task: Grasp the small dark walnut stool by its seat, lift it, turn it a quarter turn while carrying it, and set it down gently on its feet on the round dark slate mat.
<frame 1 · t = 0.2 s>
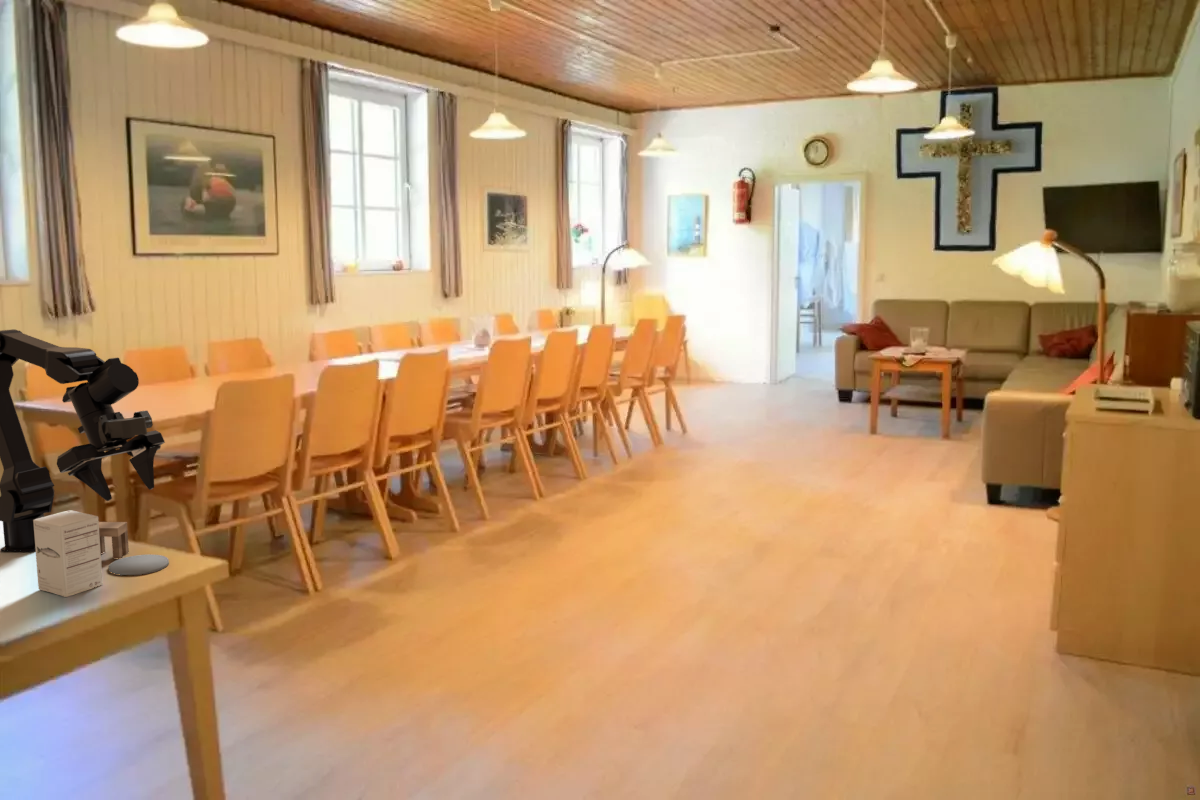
hand: (131, 494, 178), 14 cm above the table, tool tilted 30°, fingers open, 9 cm apart
supplement box: (71, 588, 172), on the table
slate mat: (139, 566, 183), on the table
walnut stool: (109, 555, 189), on the table
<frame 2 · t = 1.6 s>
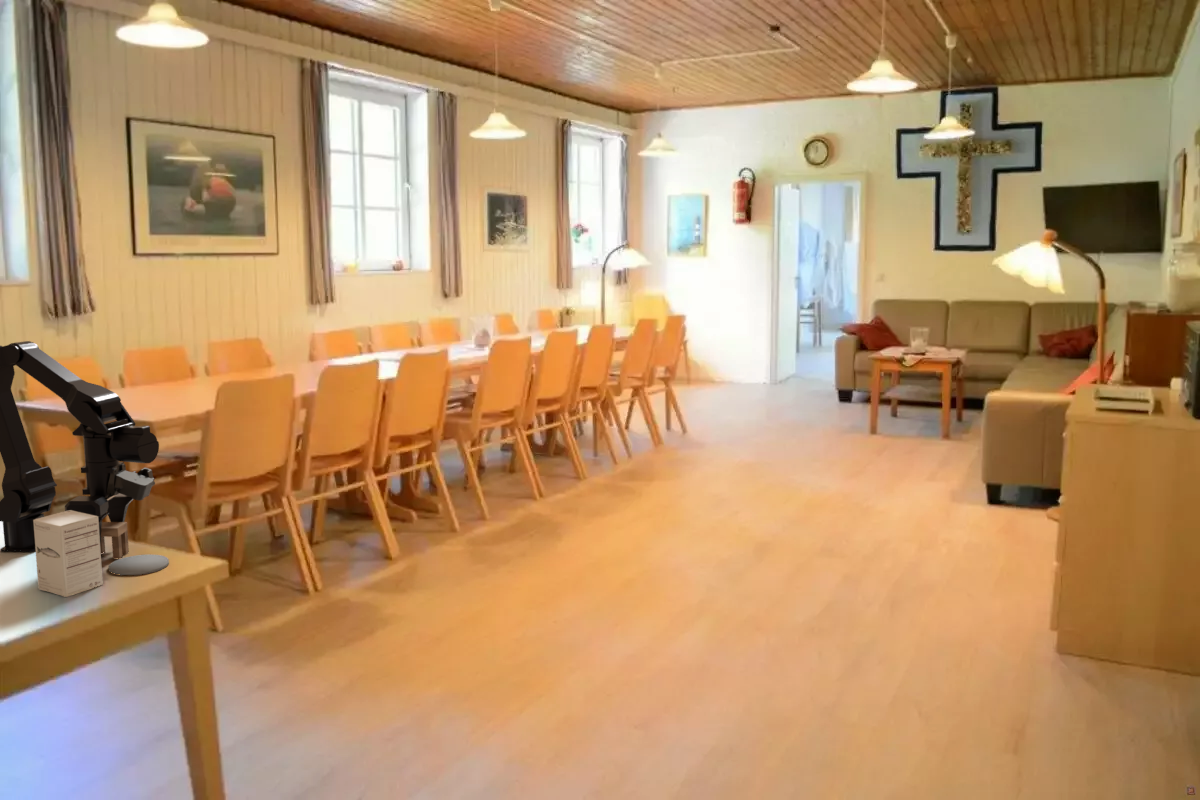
hand: (107, 540, 189), 3 cm above the table, tool pointing down, fingers open, 9 cm apart
nothing on the table moved.
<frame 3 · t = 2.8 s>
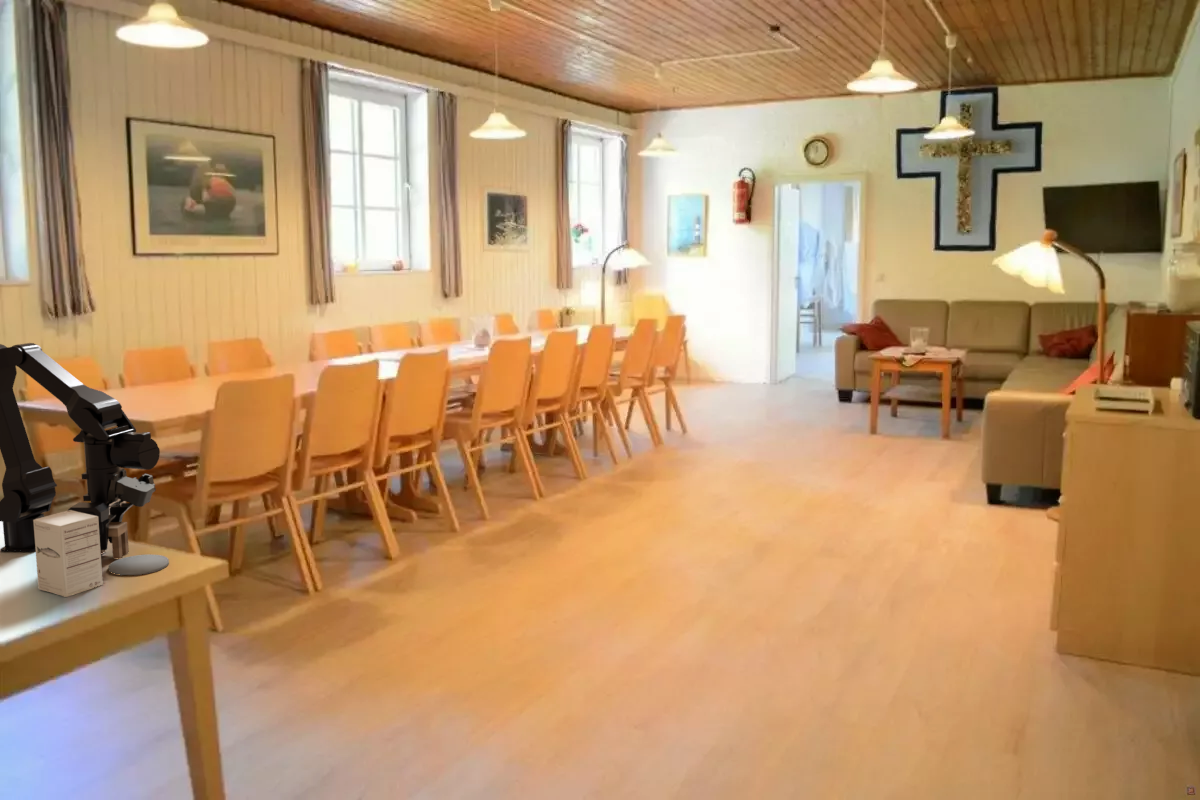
hand: (108, 546, 189), 2 cm above the table, tool pointing down, fingers closed on walnut stool, 4 cm apart
walnut stool: (109, 555, 189), on the table, touching gripper
everything else where it was.
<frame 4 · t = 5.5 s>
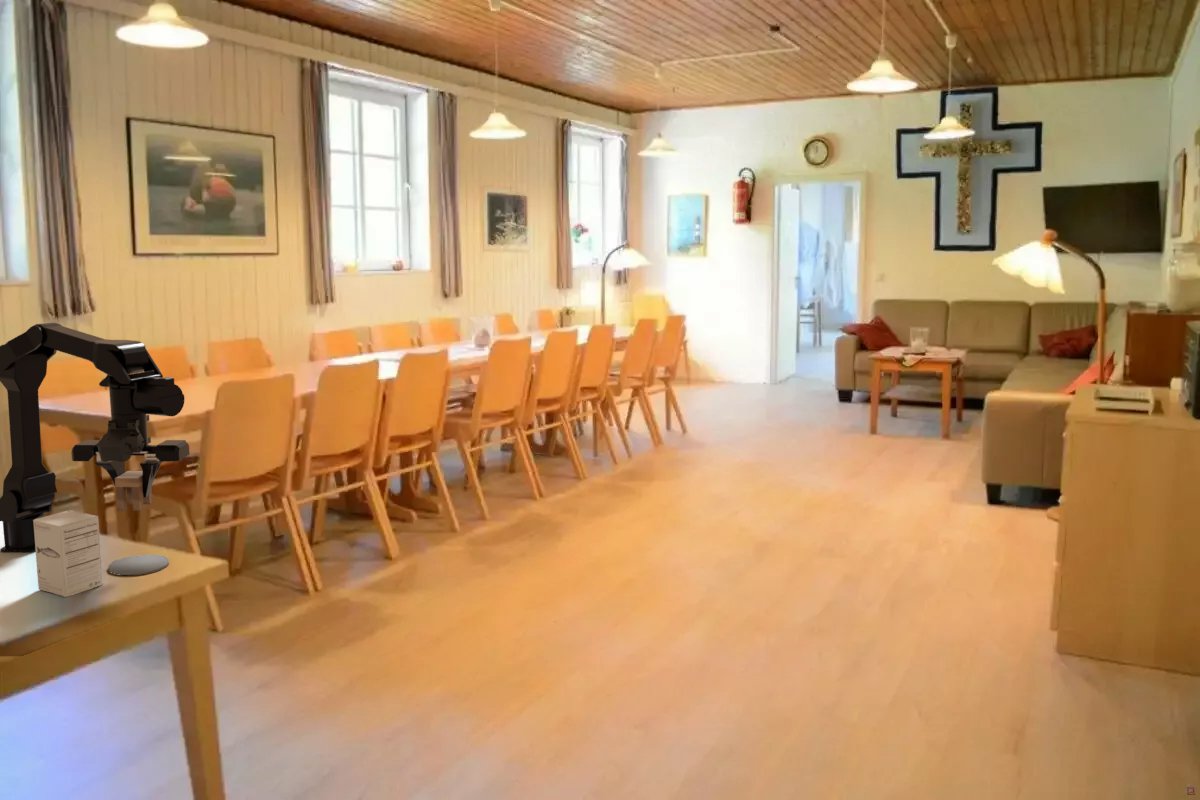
hand: (134, 497, 181), 13 cm above the table, tool pointing down, fingers closed on walnut stool, 4 cm apart
walnut stool: (135, 506, 182), point 11 cm above the table, touching gripper
everything else where it was.
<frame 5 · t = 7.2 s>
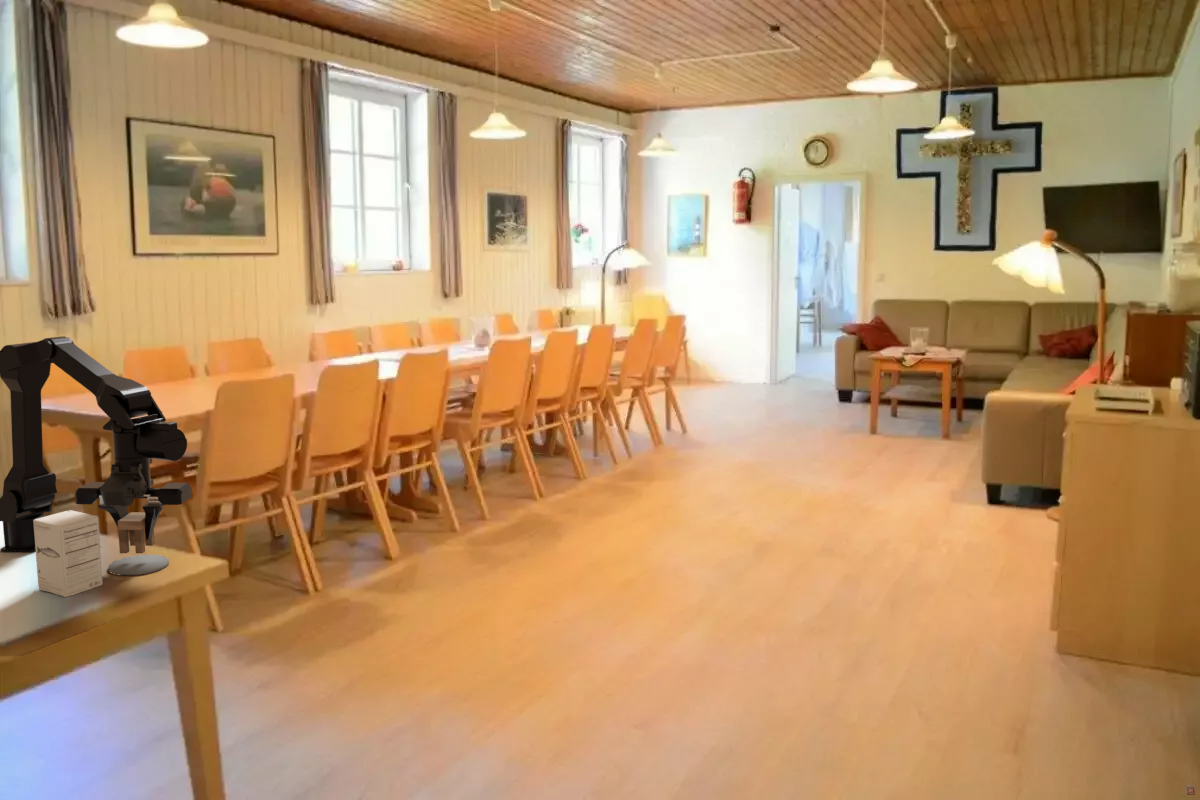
hand: (137, 538, 183), 5 cm above the table, tool pointing down, fingers closed on walnut stool, 4 cm apart
walnut stool: (137, 548, 183), point 3 cm above the table, touching gripper
everything else where it was.
when the fingers open (4 cm above the table, at t = 8.4 s): walnut stool drops 1 cm, resting on slate mat.
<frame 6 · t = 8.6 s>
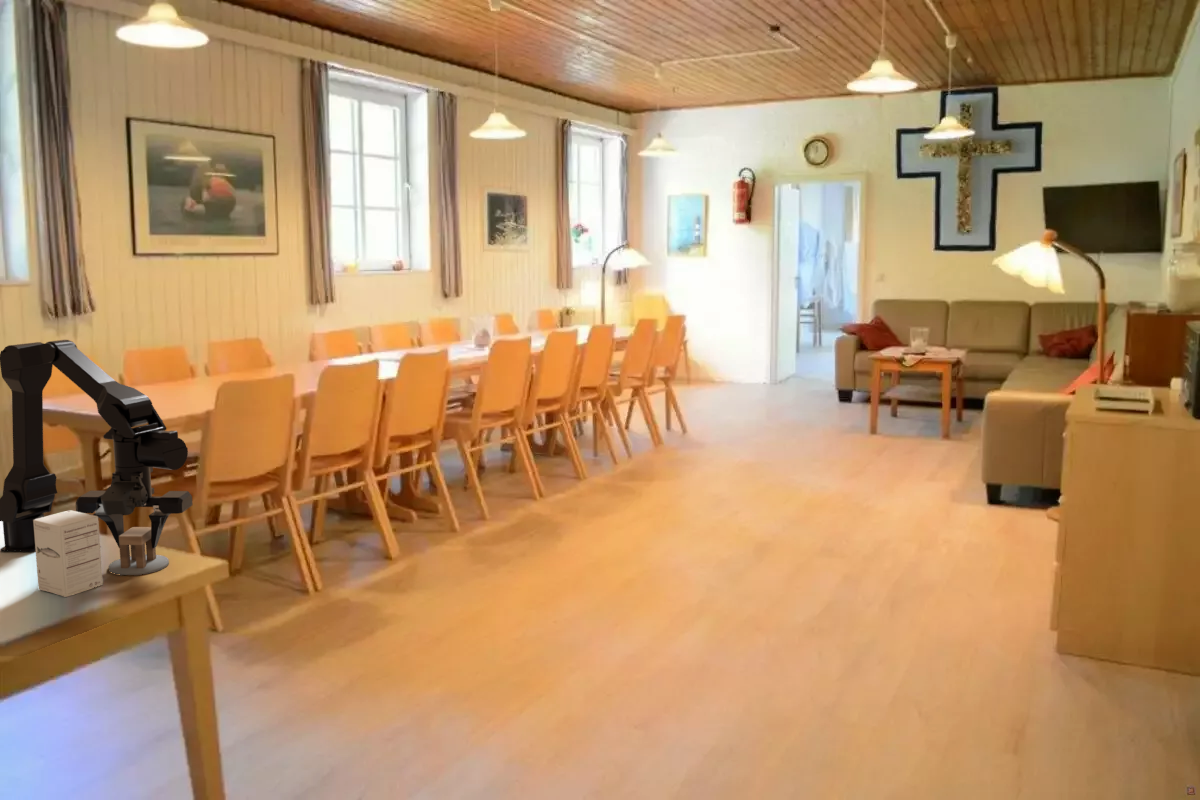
hand: (137, 547, 183), 4 cm above the table, tool pointing down, fingers open, 6 cm apart
walnut stool: (138, 563, 183), point 1 cm above the table, touching slate mat
everything else where it was.
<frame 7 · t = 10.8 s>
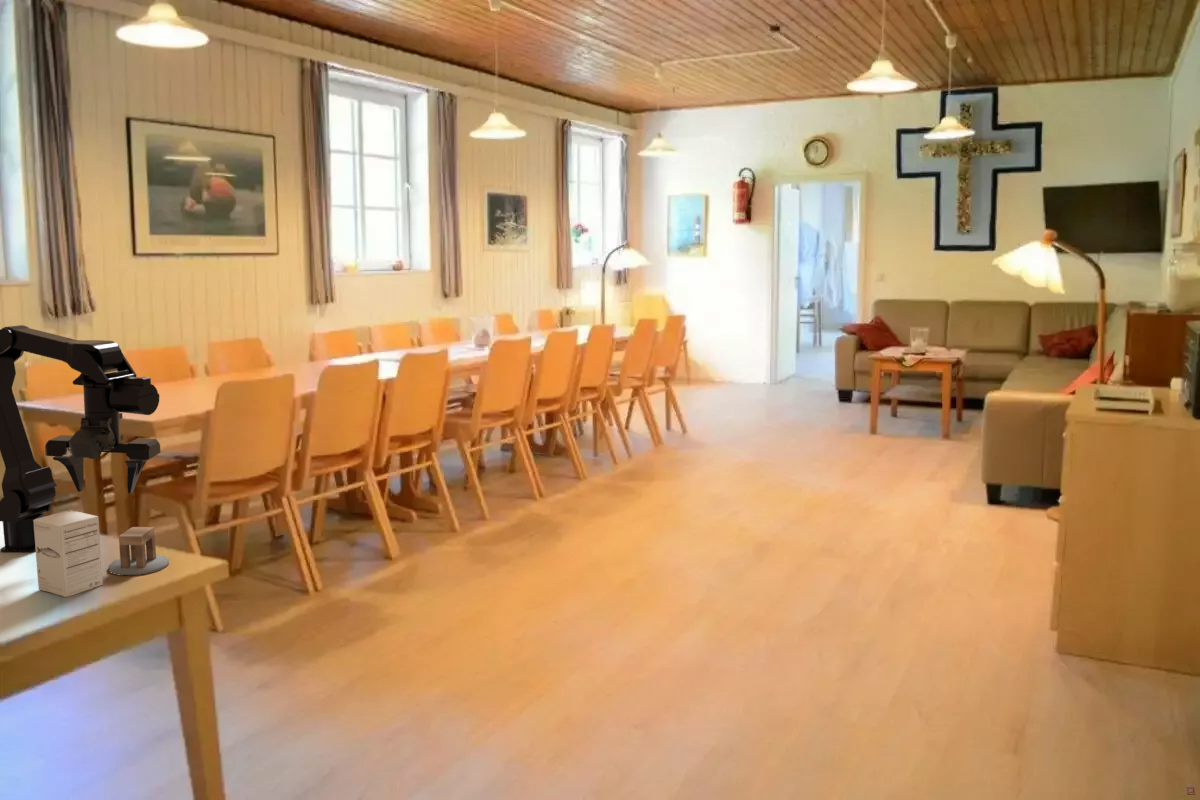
hand: (105, 492, 187), 12 cm above the table, tool pointing down, fingers open, 9 cm apart
nothing on the table moved.
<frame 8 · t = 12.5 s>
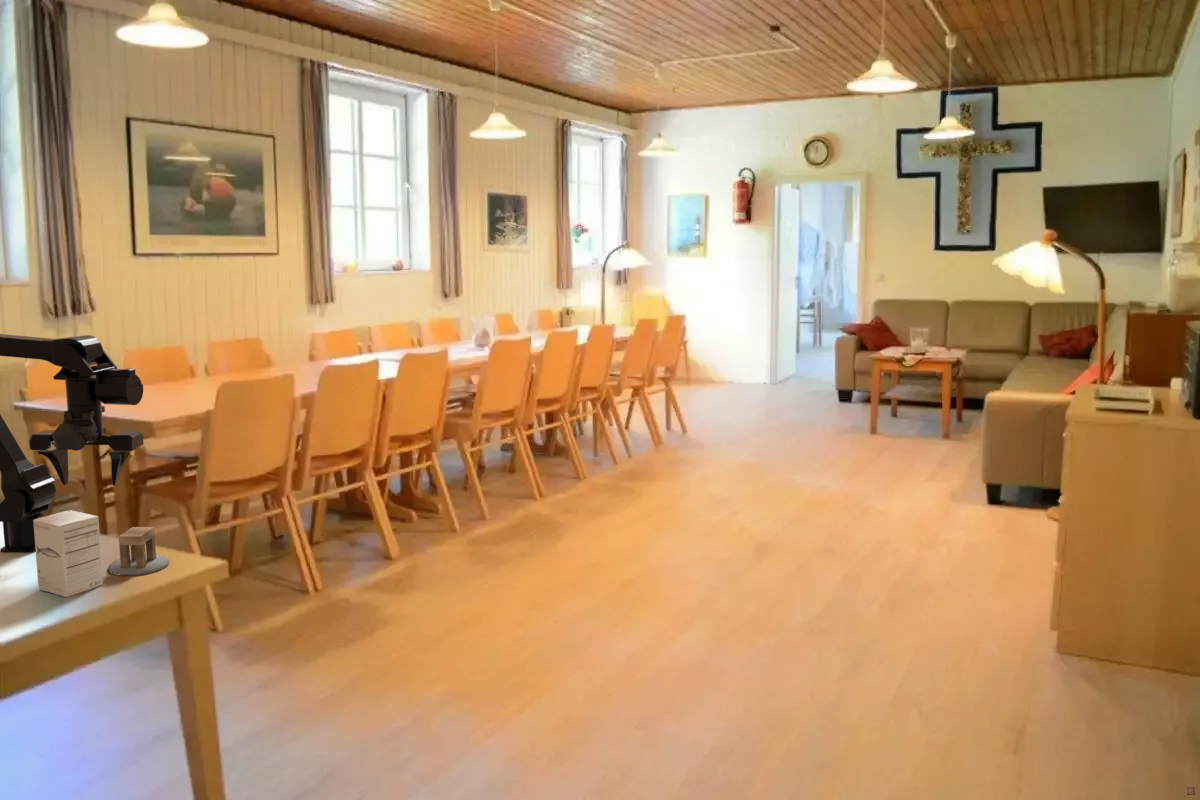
hand: (90, 484, 190), 13 cm above the table, tool pointing down, fingers open, 9 cm apart
nothing on the table moved.
at the end: walnut stool 0.0 cm off-centre on the slate mat, point 0.6 cm above the slate mat's base; walnut stool tilted 0°; the gripper is holding nothing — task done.
